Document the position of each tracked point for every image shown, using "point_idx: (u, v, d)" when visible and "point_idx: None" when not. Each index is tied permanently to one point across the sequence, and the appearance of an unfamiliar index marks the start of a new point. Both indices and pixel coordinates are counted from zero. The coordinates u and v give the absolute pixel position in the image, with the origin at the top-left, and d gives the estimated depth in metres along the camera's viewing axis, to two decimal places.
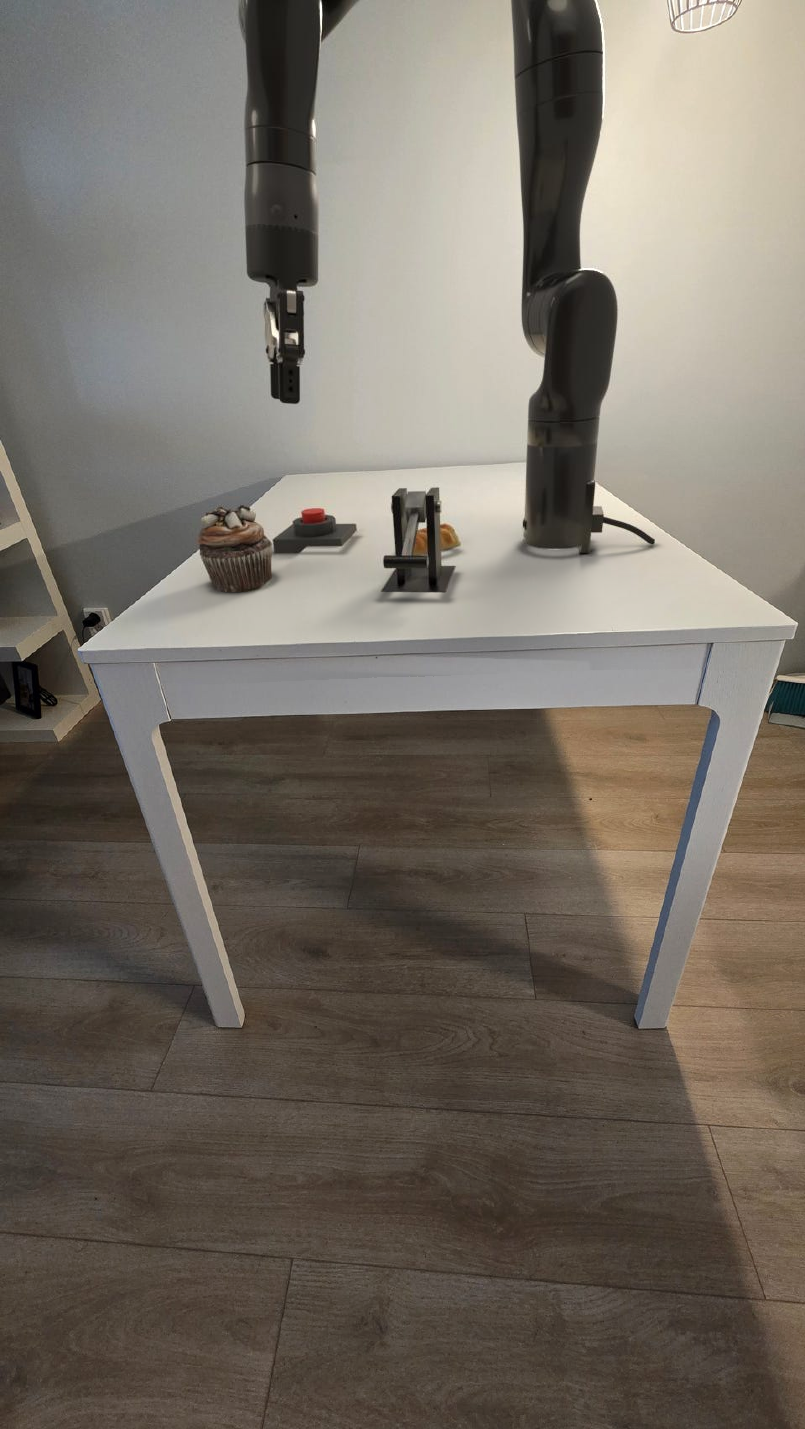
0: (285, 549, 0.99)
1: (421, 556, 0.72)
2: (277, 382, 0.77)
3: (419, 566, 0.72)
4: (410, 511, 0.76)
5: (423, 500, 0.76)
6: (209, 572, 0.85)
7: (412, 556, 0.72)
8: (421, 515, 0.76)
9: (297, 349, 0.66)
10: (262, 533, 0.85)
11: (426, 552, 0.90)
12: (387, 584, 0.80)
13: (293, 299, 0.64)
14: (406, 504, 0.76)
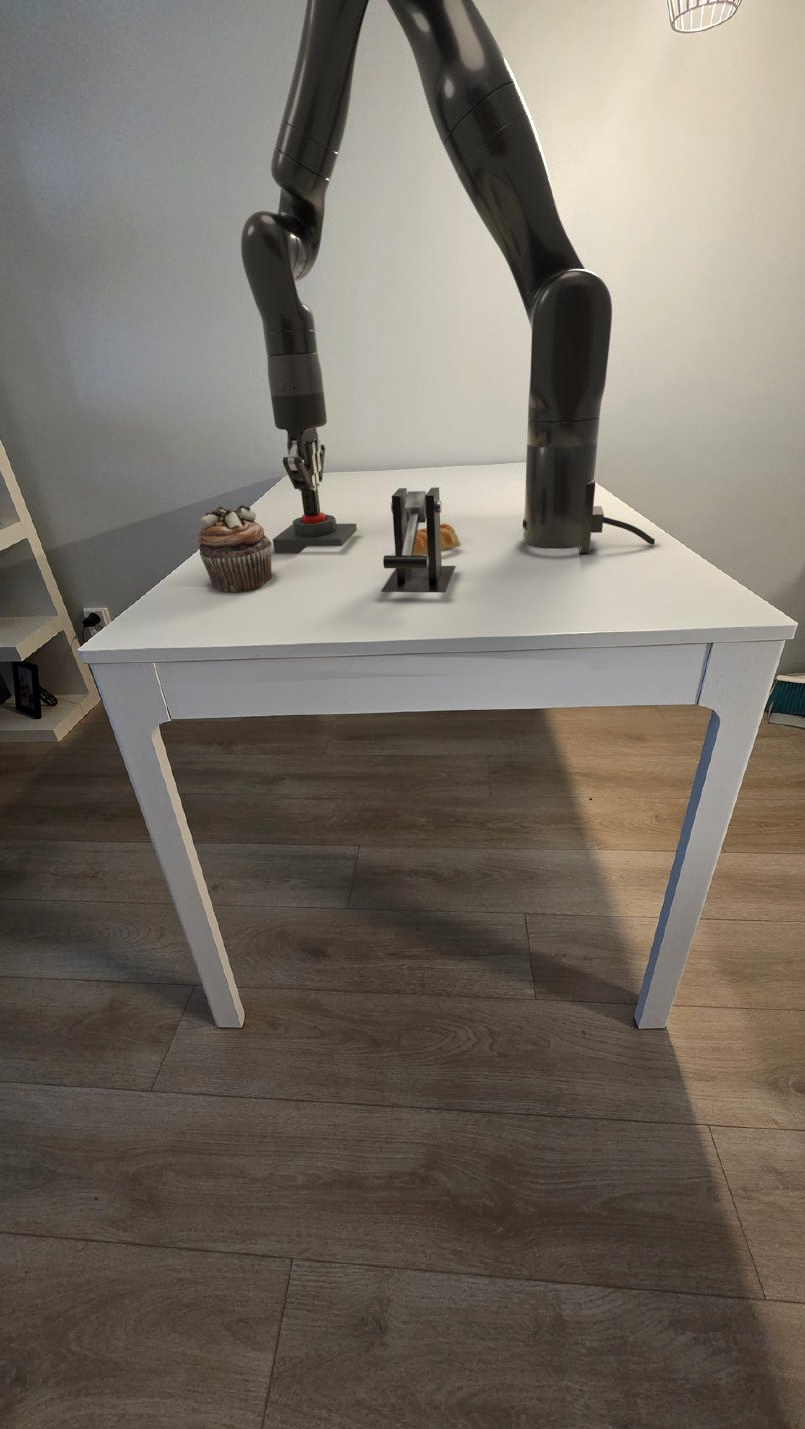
0: (285, 549, 0.99)
1: (421, 556, 0.72)
2: None
3: (419, 566, 0.72)
4: (410, 511, 0.76)
5: (423, 500, 0.76)
6: (209, 572, 0.85)
7: (412, 556, 0.72)
8: (421, 515, 0.76)
9: (304, 484, 0.94)
10: (262, 533, 0.85)
11: (426, 552, 0.90)
12: (387, 584, 0.80)
13: (293, 466, 0.91)
14: (406, 504, 0.76)
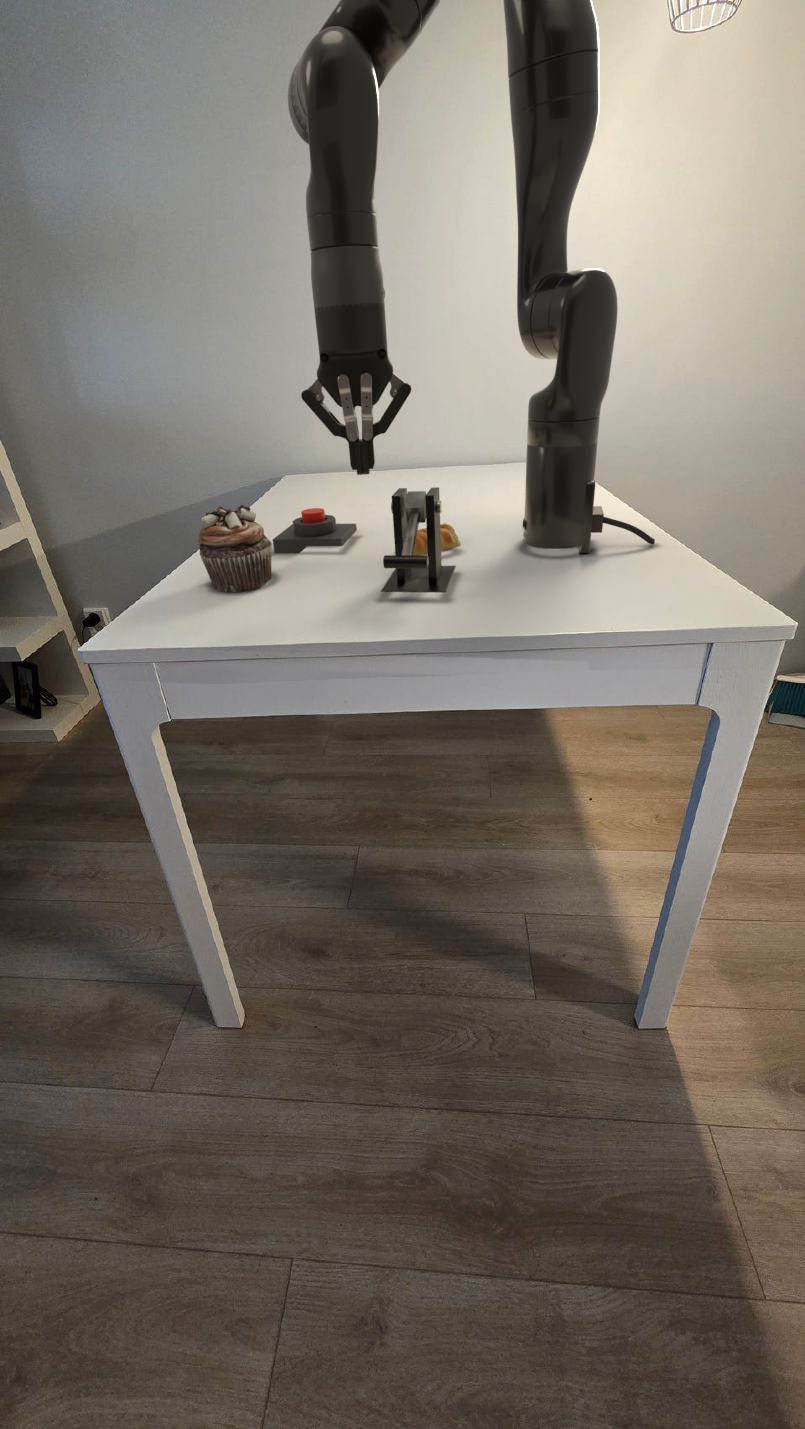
0: (285, 549, 0.99)
1: (421, 556, 0.72)
2: None
3: (419, 566, 0.72)
4: (410, 511, 0.76)
5: (423, 500, 0.76)
6: (209, 572, 0.85)
7: (412, 556, 0.72)
8: (421, 515, 0.76)
9: None
10: (262, 533, 0.85)
11: (426, 552, 0.90)
12: (387, 584, 0.80)
13: None
14: (406, 504, 0.76)
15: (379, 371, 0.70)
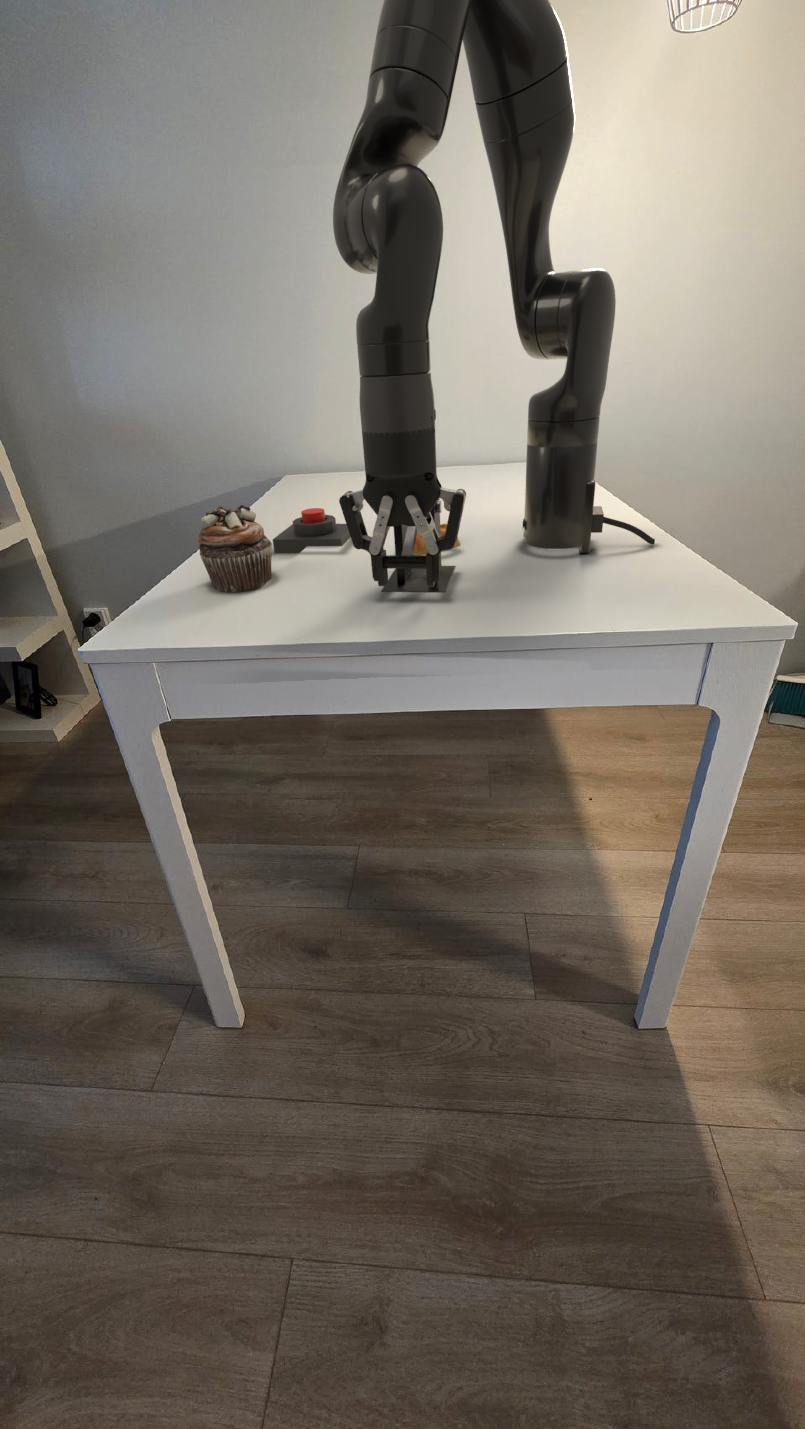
0: (285, 549, 0.99)
1: (421, 556, 0.72)
2: None
3: (419, 566, 0.72)
4: None
5: None
6: (209, 572, 0.85)
7: (412, 556, 0.72)
8: None
9: None
10: (262, 533, 0.85)
11: (426, 552, 0.90)
12: (387, 584, 0.80)
13: None
14: None
15: (425, 492, 0.67)
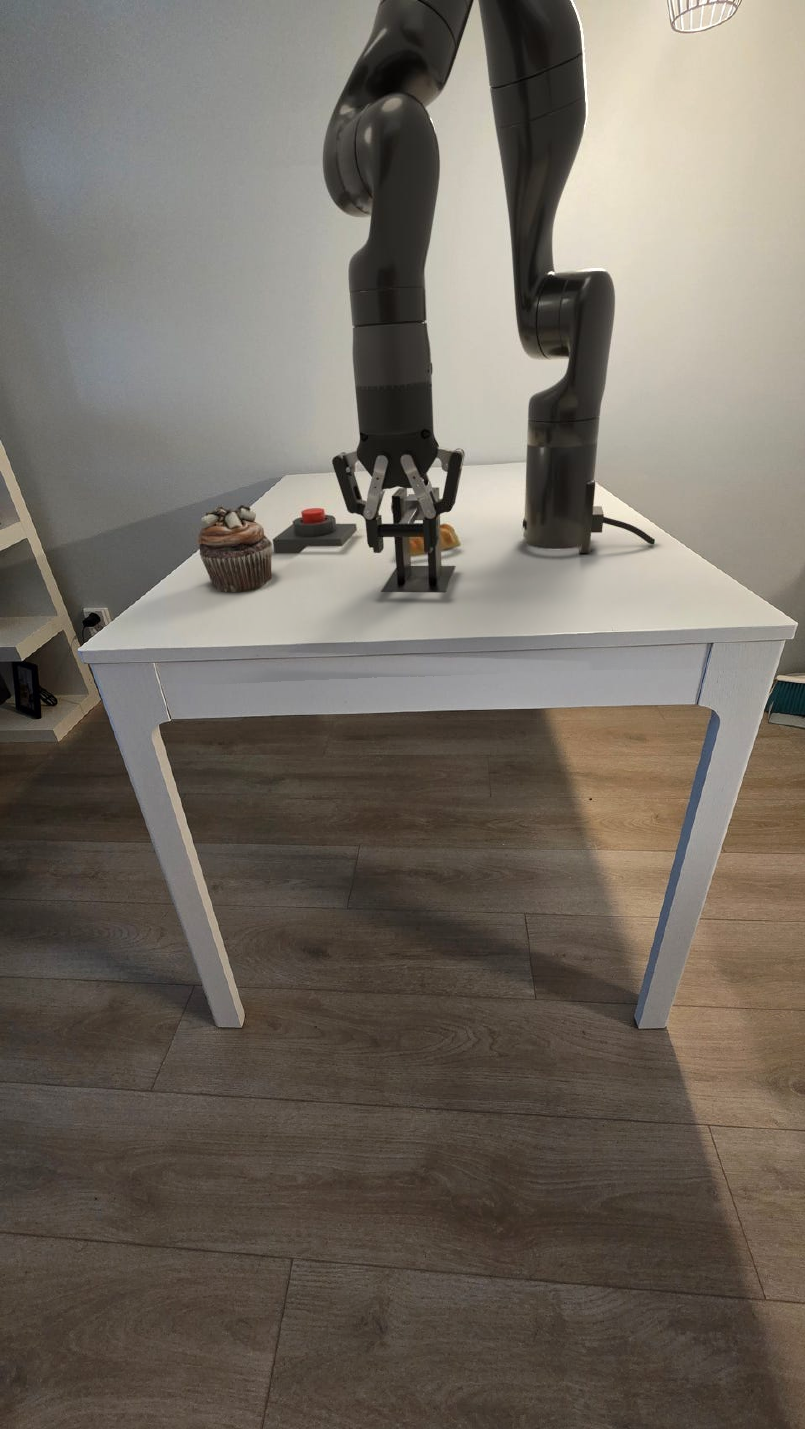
0: (285, 549, 0.99)
1: (418, 523, 0.69)
2: None
3: (415, 532, 0.69)
4: (410, 505, 0.76)
5: None
6: (209, 572, 0.85)
7: (409, 523, 0.69)
8: (421, 510, 0.76)
9: None
10: (262, 533, 0.85)
11: None
12: (387, 584, 0.80)
13: None
14: (406, 499, 0.76)
15: (422, 452, 0.64)
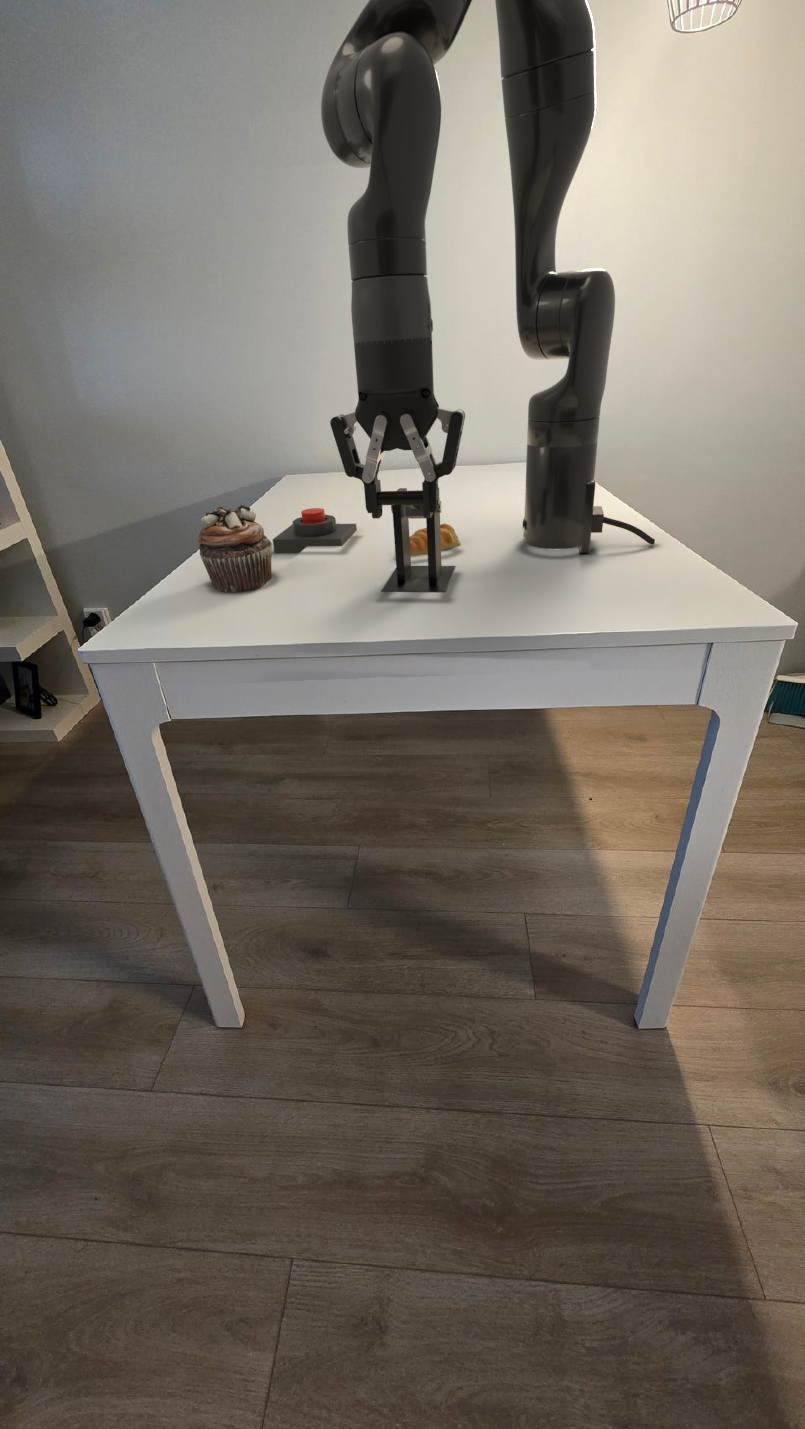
0: (285, 549, 0.99)
1: None
2: None
3: (415, 497, 0.68)
4: None
5: None
6: (209, 572, 0.85)
7: None
8: (421, 506, 0.76)
9: None
10: (262, 533, 0.85)
11: (426, 552, 0.90)
12: (387, 584, 0.80)
13: None
14: None
15: (422, 412, 0.63)
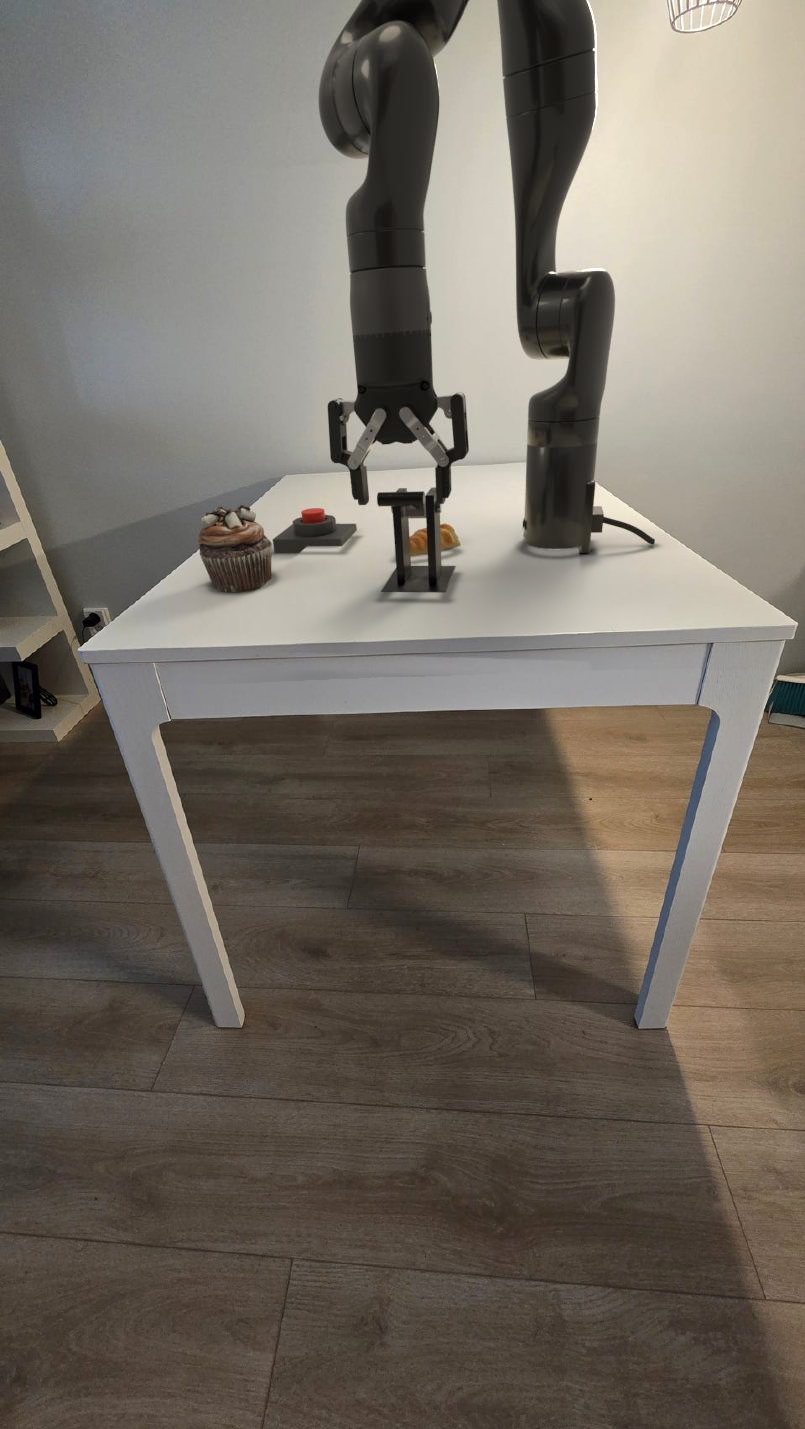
0: (285, 549, 0.99)
1: (418, 492, 0.68)
2: None
3: (415, 498, 0.68)
4: None
5: None
6: (209, 572, 0.85)
7: (408, 492, 0.68)
8: (421, 506, 0.76)
9: None
10: (262, 533, 0.85)
11: (426, 552, 0.90)
12: (387, 584, 0.80)
13: None
14: None
15: (421, 405, 0.63)
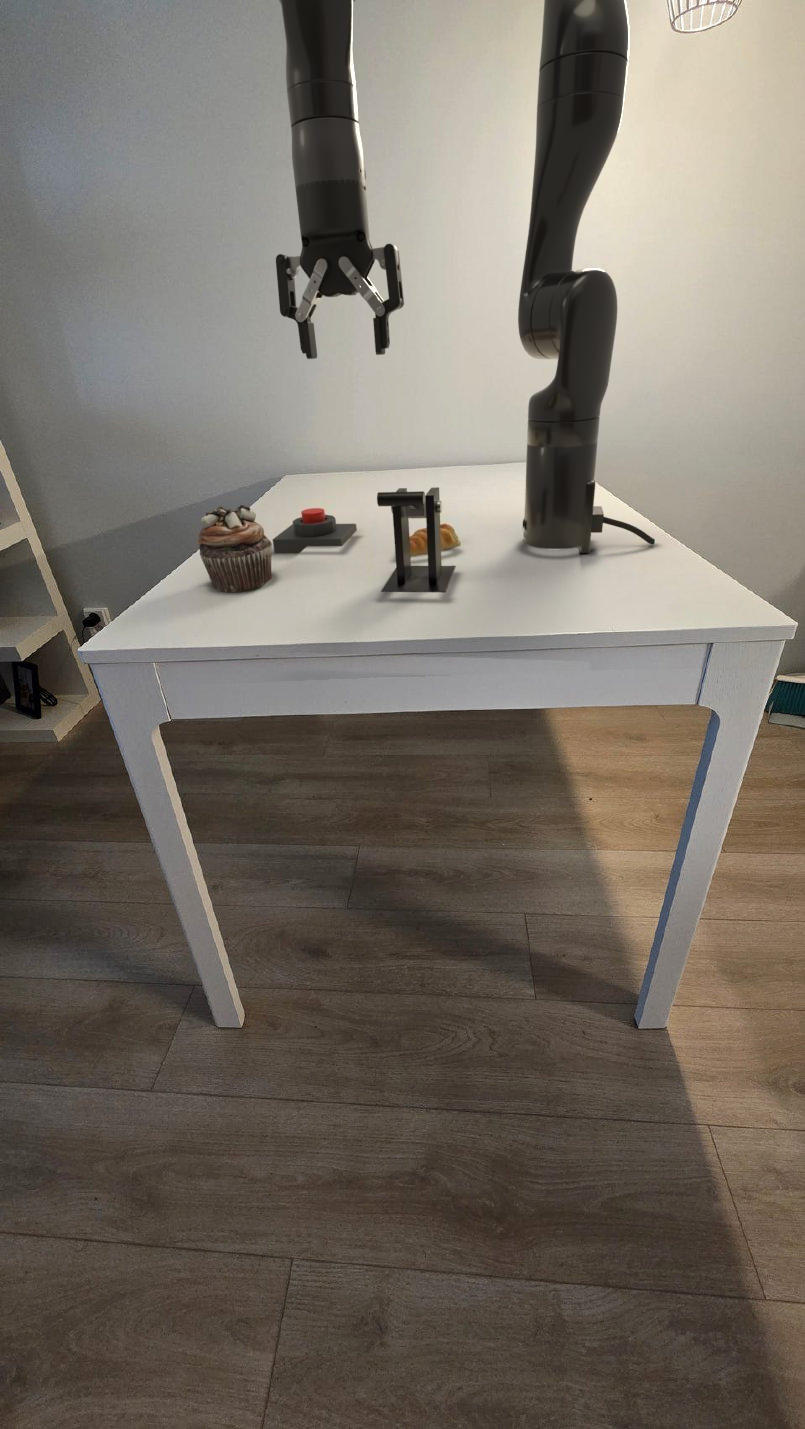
0: (285, 549, 0.99)
1: (418, 492, 0.68)
2: None
3: (415, 498, 0.68)
4: None
5: None
6: (209, 572, 0.85)
7: (408, 492, 0.68)
8: (421, 506, 0.76)
9: None
10: (262, 533, 0.85)
11: (426, 552, 0.90)
12: (387, 584, 0.80)
13: None
14: None
15: (358, 255, 0.70)
